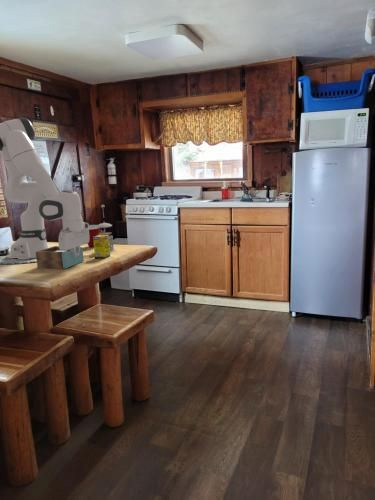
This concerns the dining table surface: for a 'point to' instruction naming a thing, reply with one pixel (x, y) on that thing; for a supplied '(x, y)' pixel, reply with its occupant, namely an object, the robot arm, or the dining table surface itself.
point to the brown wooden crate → (50, 258)
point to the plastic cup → (93, 234)
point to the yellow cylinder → (101, 246)
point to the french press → (107, 233)
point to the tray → (72, 258)
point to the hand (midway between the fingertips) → (76, 256)
